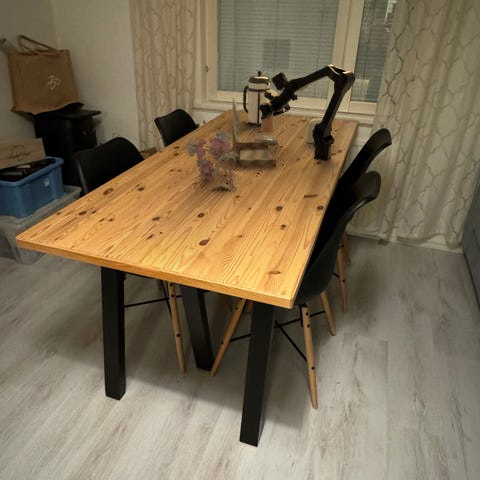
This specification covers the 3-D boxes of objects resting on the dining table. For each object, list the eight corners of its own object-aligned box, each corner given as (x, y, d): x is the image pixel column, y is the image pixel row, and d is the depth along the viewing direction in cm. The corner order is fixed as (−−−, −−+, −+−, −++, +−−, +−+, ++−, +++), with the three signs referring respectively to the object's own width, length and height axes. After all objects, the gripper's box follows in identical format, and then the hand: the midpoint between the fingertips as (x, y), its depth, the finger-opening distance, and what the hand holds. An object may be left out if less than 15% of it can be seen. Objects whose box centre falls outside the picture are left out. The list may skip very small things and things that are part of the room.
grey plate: (281, 141, 211) (281, 137, 210) (271, 147, 202) (271, 143, 201) (261, 137, 217) (262, 134, 216) (250, 143, 208) (250, 139, 207)
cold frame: (267, 149, 199) (270, 97, 187) (276, 168, 176) (279, 110, 163) (232, 149, 198) (232, 97, 185) (236, 169, 174) (236, 110, 162)
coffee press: (270, 120, 249) (273, 69, 234) (269, 127, 236) (272, 72, 220) (242, 119, 251) (243, 68, 236) (240, 126, 237) (241, 72, 222)
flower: (251, 171, 168) (225, 115, 158) (255, 186, 148) (225, 124, 138) (209, 191, 171) (180, 138, 161) (206, 209, 151) (174, 149, 141)
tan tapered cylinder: (274, 131, 204) (275, 104, 197) (262, 132, 203) (263, 105, 197) (271, 128, 209) (272, 102, 203) (260, 129, 208) (260, 102, 202)
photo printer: (324, 140, 213) (327, 117, 207) (327, 143, 210) (330, 119, 203) (305, 141, 212) (308, 117, 206) (308, 143, 208) (310, 119, 202)
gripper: (287, 82, 198) (269, 102, 210) (262, 86, 187) (245, 107, 199) (298, 101, 198) (279, 120, 210) (274, 106, 186) (256, 126, 198)
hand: (265, 118), depth 204 cm, fingers closed on tan tapered cylinder, 6 cm apart
